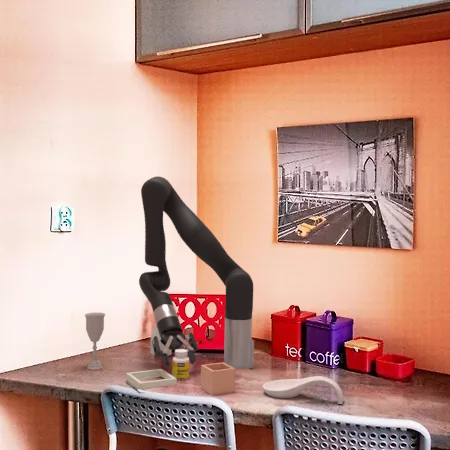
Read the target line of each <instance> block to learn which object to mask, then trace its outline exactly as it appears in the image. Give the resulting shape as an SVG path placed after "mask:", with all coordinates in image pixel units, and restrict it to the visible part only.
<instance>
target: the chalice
mask: <svg viewBox="0 0 450 450" xmlns="http://www.w3.org/2000/svg"><path fill="white" fill-rule="evenodd" d="M105 316H106V314H105V313H104V312H88V313H84V317H85V331H86V333H87V335H88V338H89V341H90V342H92V343H93V346H92V349H93V351H92V355H93V358H92V359H91V360H90V361H89V362H88V363H87V364H88V365H87V367H86V368H87V369H88V370H101V369H102V368H103V366H102V363H101V361H100V360H99V359H98V358H97V355H98V352H97V349H98V347H97V343H98V342H99V341H100V339H101V337H102V335H103V332H104V328H105V327H104V326H105V325H104V324H105ZM100 368H101V369H100Z"/></svg>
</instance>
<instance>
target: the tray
mask: <svg viewBox="0 0 450 450" xmlns="http://www.w3.org/2000/svg"><path fill="white" fill-rule="evenodd" d="M125 373H126V374H125V382H126V383H127V384H128V385H129V386H130V387H131V388H133V387H134V388H136V389H142V390H146V389H153V388H162V387H168V386H169V387H170V386H177V383H178V380H177V379H176V378H175V377H173V376H172V374H171V373H169V372H167V371H166V370H164V369H162V368H157V369H150V370H148V369H147V370H140V371H134V372H133V371H132V372H125ZM158 377H161V378H163V379H157V380H156V379H155V380H148V381H141V380H145V379H152V378H158ZM134 388H133V389H134ZM136 389H135V390H136Z"/></svg>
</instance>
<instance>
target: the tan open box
mask: <svg viewBox="0 0 450 450" xmlns="http://www.w3.org/2000/svg"><path fill="white" fill-rule="evenodd" d="M201 389H202V390H203V391H205V393H208V394H209V395H211V396H217V395H224V394H229V393H235V392H236V368H233V367H231V366H229V365H227V364H226V363H224V361H222V362H216V363H206V364H201V365H200V390H201Z"/></svg>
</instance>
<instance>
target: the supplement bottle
mask: <svg viewBox="0 0 450 450" xmlns="http://www.w3.org/2000/svg"><path fill="white" fill-rule="evenodd" d="M171 375H172V376H173V377H175V378H176V379H177V381H186V380H187V381H188V380H189V378H190V360H189V357H188V353H187V350H185V349H180V348H179V349H174V356H173V357H172V363H171Z"/></svg>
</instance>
